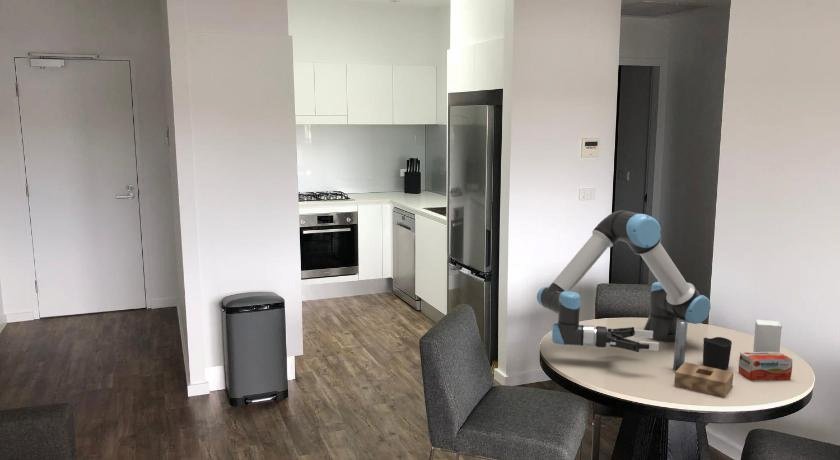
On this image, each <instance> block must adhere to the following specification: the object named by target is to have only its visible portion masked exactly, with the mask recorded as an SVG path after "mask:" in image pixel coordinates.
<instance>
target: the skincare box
mask: <svg viewBox="0 0 840 460" xmlns="http://www.w3.org/2000/svg"><path fill="white" fill-rule="evenodd" d="M754 325H755V326H754V337H753V350H752V352H780V351H781V337H782V327H783V326H782V325H781V322H780V321H779V320H769V319H767V320H765V319H755V324H754ZM780 353H781V352H780Z"/></svg>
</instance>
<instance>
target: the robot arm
mask: <svg viewBox="0 0 840 460" xmlns="http://www.w3.org/2000/svg"><path fill="white" fill-rule="evenodd" d="M661 231H662V229H661V225H660V223H659V221H658V220H656V219H655V218H654V216H653V217H652V216H651V215H648V214H645V213H638V212H635V211H634V212H633V211H628V210H624V209H623V210H622V209H621V210H617V211H614V212H612V213H610V214H608V215H607V216H606V217H605V218H603V219H602V220H601V221H600V222H599V223H598V224H597V225H596V226H595V228H594V229H593V230H592V235H591V236H590V237H589V239H587V240H586V242H585V244H583V246H582V247H581V248H580V249H579V251H578V252H577V253H576V254H575V255H574V257H573V258H572V259H571V260H570V261H569V262H568V263H567V265H566V266H565V267H564V268H563V269H562V270H561V272H560V273H559V274H558V275H557V276H556V277H555V279H554V280H553V281H552V282H551V284H549V286H544V287H542V288H540V289H539V290H538V292H537V294H536V300H537V303H538V304H539V305H541V306H542V307H543V308H545V309H548V310H549V311H552V312H554V313H556V314H558V316H557V317H558V318H557V320H558V321H557V322H556V323H552V329H551V342H552V343H554V344H558V345H564V346H580V347H581V346H584V347H585V348H588V347H596V348H606V347H607V344H609V346H610V347H612V348H618V349H623V350H628V351H632V352H637V353H639V352H640V350H641V351H642V350H643V351H644V350H645V351H657V352H659V347H660V343H659V342H675V339H676V326H677V321H678V320H683V321H687V322H688V324H693V325H696V324H697V325H698V324H701V323H703V322H704V321H705V320H706V319H707V318H708V317H709V314H710V311H711V300H710V299H709V298H708V297H707V296H706V295H703V294H701V293H699V292H698V291H699V290H697V288H696V287H695V285H694V284H693V283H691V282H687V281H686V280H685V277H684V276H683V274H681V272H680V270H679V269H678V267H677V266H676V264H675V263H674V262H673V260H672V258H671V257H670V255H669V254H668V253H667V251H666V249H665V248H664V246H663V245H662V243H661V242H662V241H661V240H662V233H661ZM619 241H620V242H624V243H626V244H627V245H628V247H629V248H630V250H631V251H632V252H633V253H634V254H635V255H639V256H640V257H641V258H642V260H643V261H644V263H645V264H646V266H647V267H648V268H649V270H650V271H651V273H652V274H653V276H654V277H655V278H656V281H655V282H653V283H652V284H651V286H650V287H651V289H650V298H649V313H648V314H649V315H648V319H647V320H646V323H645V325H644V328H643V329H635V327H633V326H631V327H630V326H629V327H621V328H620V327H619V328H607V327H606V326H601V325H598V326H596V327H595V325H590V324H589V325H585V324H580V310H581V295H580V294H579V292H576V291H573V290H574V288H575V287H576V286H577V285H578V284H579V283H580V282H581V280H582V279H583V278H584V277H585V275H586V274H587V273H588V272H589V271H590V269H592V267H593V266H594V265H595V264H596V262H598V260H599V259H600V258H601V256H602V255H603V254H604V253H605V252H606V250H607V249H608V248H612V247H613V246H614V245H615V244H616V243H617V242H619ZM630 337H631V338H632V337H634V338H637V339H639V338H640V339H641V338H642V339H651V340H654V341H655V342H654V341H641V340H640V341H636V340H632V339H629V338H630ZM656 341H659V342H656Z"/></svg>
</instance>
